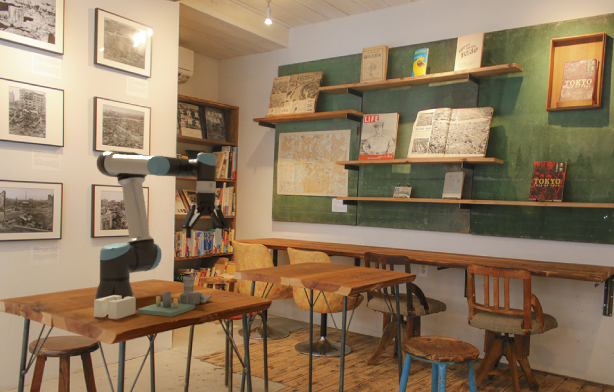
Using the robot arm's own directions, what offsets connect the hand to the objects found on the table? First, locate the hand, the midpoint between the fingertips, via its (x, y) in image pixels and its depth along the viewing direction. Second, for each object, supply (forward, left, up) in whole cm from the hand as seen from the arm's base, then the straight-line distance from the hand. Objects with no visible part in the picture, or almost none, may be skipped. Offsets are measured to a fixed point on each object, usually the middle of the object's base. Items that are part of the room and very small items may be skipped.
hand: (204, 245), depth 197 cm
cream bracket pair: (-22, -25, -24) cm, 41 cm away
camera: (-7, +3, -24) cm, 25 cm away
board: (-9, -12, -24) cm, 28 cm away
